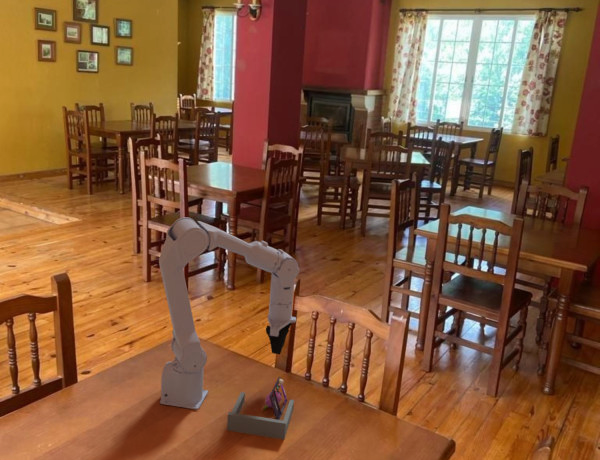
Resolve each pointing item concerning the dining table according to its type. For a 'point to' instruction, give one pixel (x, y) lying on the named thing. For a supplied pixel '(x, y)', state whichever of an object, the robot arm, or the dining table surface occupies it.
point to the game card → (276, 399)
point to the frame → (258, 421)
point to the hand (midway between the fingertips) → (277, 350)
